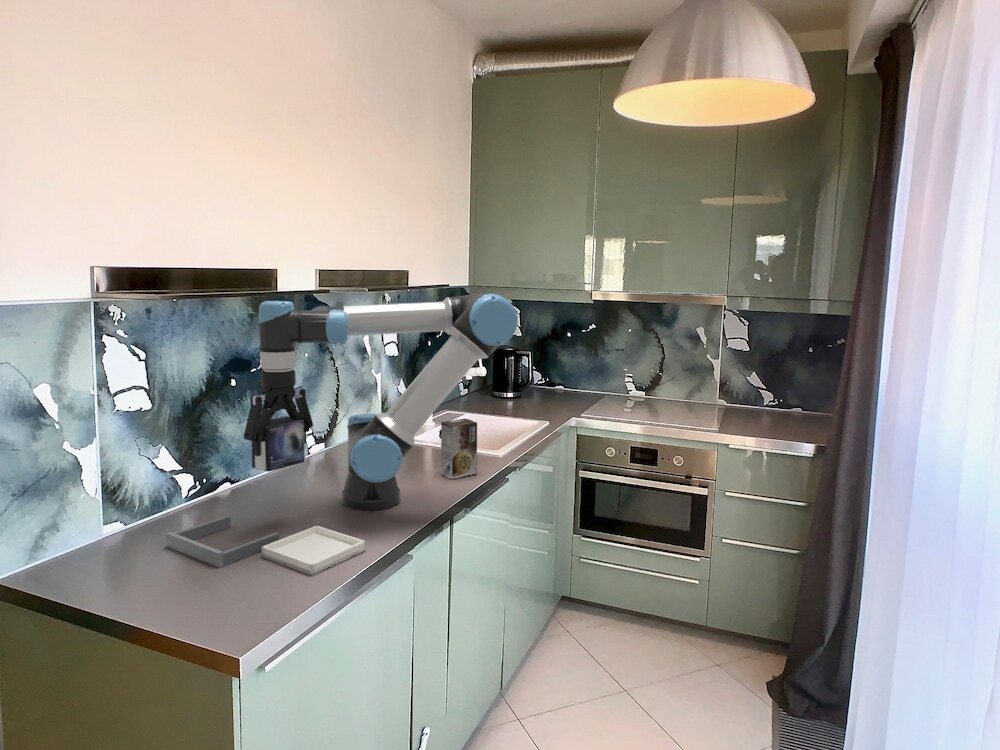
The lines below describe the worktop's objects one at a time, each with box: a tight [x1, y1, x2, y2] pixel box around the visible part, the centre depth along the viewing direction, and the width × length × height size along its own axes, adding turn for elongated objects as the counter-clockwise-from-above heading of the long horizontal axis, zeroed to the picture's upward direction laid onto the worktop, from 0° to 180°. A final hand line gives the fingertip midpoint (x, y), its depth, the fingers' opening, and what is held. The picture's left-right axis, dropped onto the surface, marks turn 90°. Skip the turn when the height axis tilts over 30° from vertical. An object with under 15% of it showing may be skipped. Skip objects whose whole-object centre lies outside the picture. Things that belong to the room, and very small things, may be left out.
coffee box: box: [440, 418, 478, 477], centre depth 206 cm, size 9×6×16 cm
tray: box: [260, 525, 367, 576], centre depth 148 cm, size 15×15×2 cm
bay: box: [165, 515, 280, 568], centre depth 151 cm, size 15×18×3 cm
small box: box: [251, 415, 305, 472], centre depth 161 cm, size 11×6×10 cm, turn 147°
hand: (280, 463), depth 162 cm, fingers closed on small box, 10 cm apart
